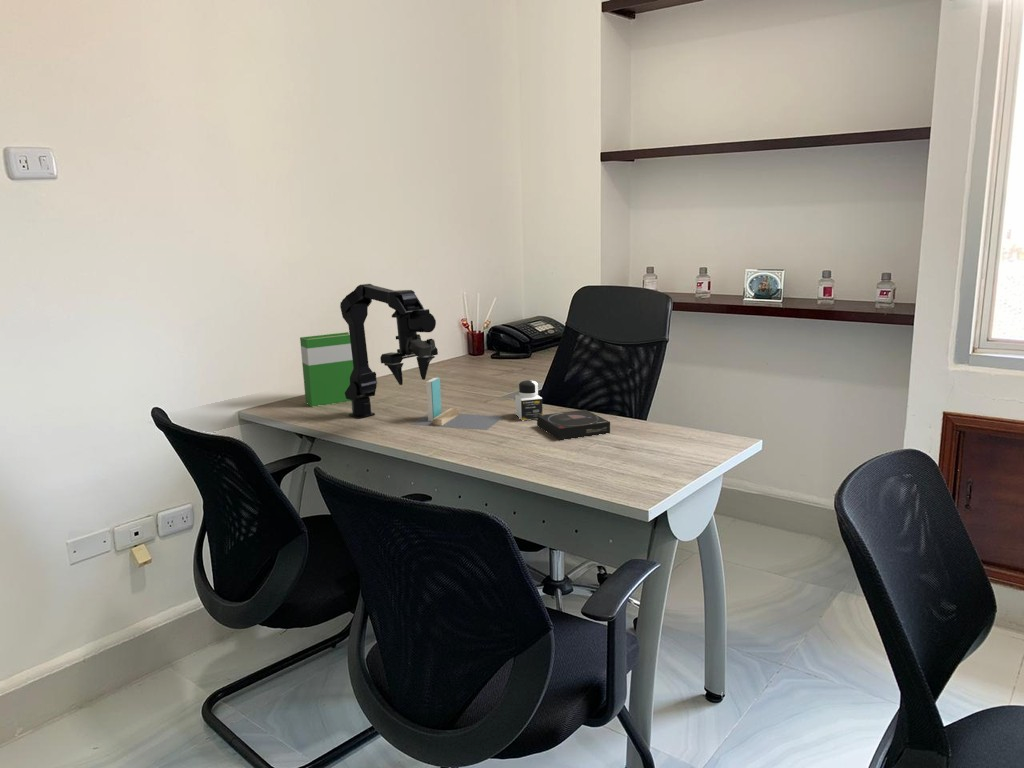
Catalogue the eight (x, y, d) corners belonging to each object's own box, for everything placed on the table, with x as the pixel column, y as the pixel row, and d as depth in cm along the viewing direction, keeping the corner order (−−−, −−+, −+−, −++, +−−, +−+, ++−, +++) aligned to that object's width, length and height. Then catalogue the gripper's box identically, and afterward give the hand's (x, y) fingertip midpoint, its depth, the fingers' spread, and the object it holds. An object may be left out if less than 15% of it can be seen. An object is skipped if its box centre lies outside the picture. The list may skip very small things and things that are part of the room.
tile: (428, 421, 246) (426, 381, 243) (436, 416, 252) (434, 377, 249) (434, 421, 245) (431, 381, 243) (441, 416, 251) (439, 377, 248)
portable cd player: (584, 421, 245) (584, 409, 244) (610, 434, 229) (610, 422, 228) (537, 427, 239) (536, 415, 238) (560, 442, 223) (559, 428, 223)
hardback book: (352, 396, 286) (347, 332, 280) (359, 399, 279) (355, 334, 274) (305, 403, 277) (300, 337, 271) (312, 407, 270) (306, 340, 265)
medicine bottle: (521, 421, 245) (520, 384, 242) (515, 415, 251) (514, 380, 249) (543, 419, 247) (542, 382, 244) (536, 413, 253) (535, 378, 251)
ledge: (433, 425, 241) (432, 419, 241) (450, 413, 254) (450, 408, 254) (441, 425, 240) (441, 419, 240) (459, 414, 253) (458, 408, 253)
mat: (410, 425, 243) (410, 424, 243) (431, 413, 258) (431, 411, 258) (486, 431, 234) (486, 429, 234) (504, 417, 249) (504, 416, 249)
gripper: (400, 336, 222) (406, 389, 225) (447, 328, 235) (452, 378, 238) (376, 336, 229) (382, 387, 232) (423, 327, 243) (428, 376, 245)
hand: (412, 382), depth 237 cm, fingers open, 9 cm apart
